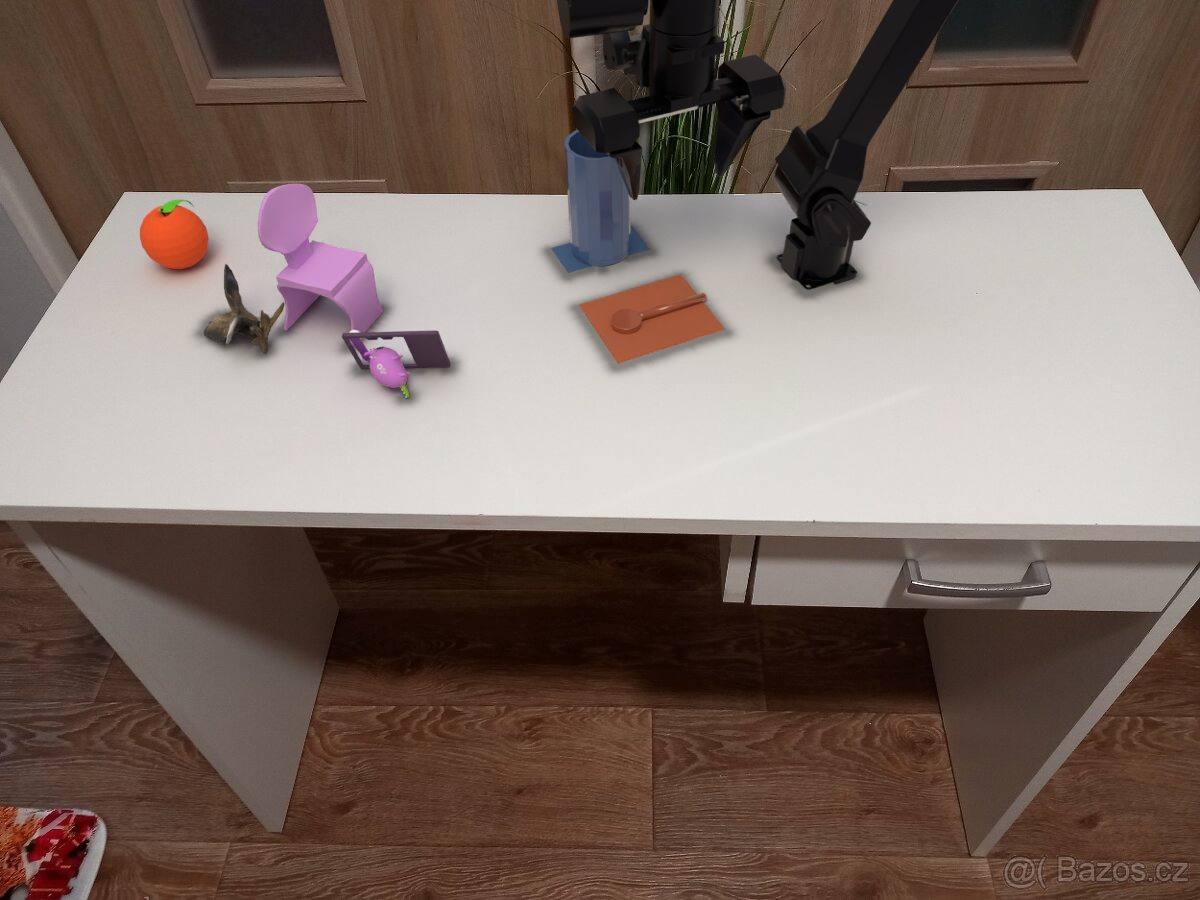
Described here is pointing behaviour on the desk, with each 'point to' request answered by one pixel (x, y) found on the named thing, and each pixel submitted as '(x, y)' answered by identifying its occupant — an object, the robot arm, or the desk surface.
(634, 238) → the blue mat
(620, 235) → the blue tumbler
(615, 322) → the terracotta spoon
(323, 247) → the toy chair
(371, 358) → the pink creature with frame
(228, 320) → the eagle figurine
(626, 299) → the terracotta mat
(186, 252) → the clementine
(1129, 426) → the desk surface
